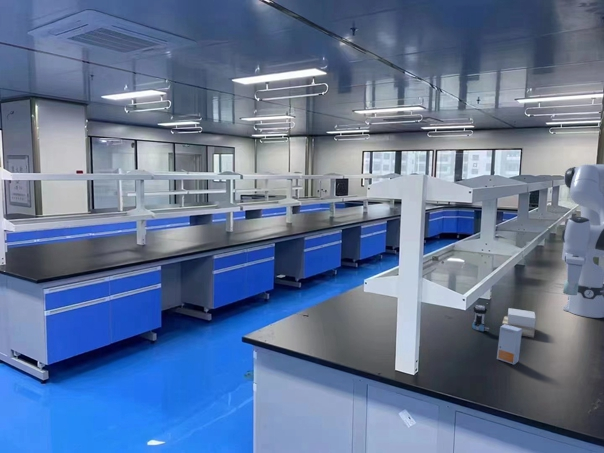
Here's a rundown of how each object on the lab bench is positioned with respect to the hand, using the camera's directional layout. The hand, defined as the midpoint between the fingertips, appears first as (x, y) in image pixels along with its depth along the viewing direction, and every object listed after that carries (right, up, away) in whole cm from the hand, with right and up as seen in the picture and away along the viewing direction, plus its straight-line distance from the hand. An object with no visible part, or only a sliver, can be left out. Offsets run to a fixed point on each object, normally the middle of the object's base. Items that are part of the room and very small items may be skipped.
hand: (570, 289), depth 182 cm
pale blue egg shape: (0, -2, 0) cm, 2 cm away
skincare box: (-39, -21, -29) cm, 53 cm away
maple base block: (-20, -18, +4) cm, 27 cm away
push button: (-37, -17, +2) cm, 41 cm away
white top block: (-19, -14, +3) cm, 24 cm away
